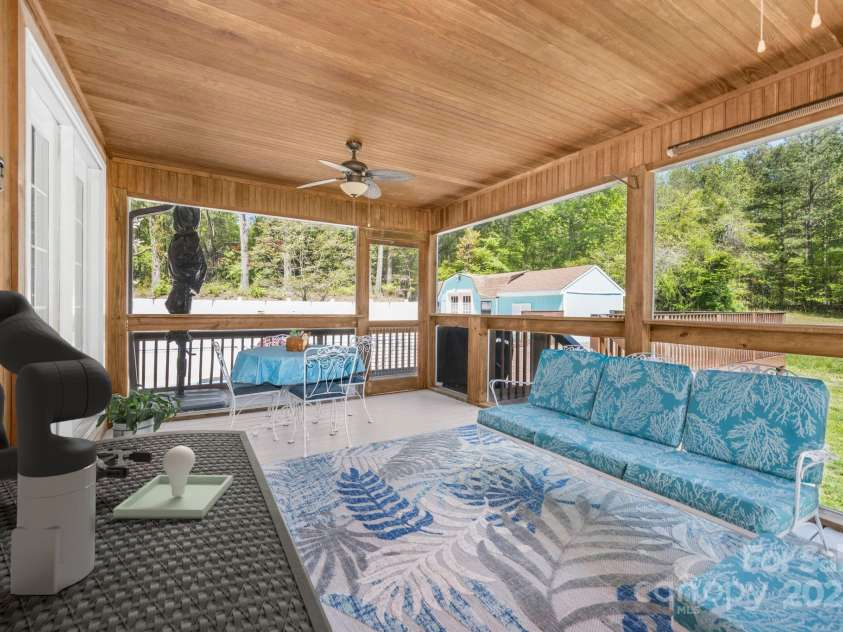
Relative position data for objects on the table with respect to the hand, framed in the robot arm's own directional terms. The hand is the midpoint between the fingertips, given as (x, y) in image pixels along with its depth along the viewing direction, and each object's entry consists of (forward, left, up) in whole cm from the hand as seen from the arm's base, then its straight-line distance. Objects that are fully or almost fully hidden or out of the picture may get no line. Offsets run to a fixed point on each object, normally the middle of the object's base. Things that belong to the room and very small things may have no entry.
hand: (140, 464), depth 92 cm
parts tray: (0, -8, -7) cm, 11 cm away
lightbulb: (0, -8, -7) cm, 11 cm away
